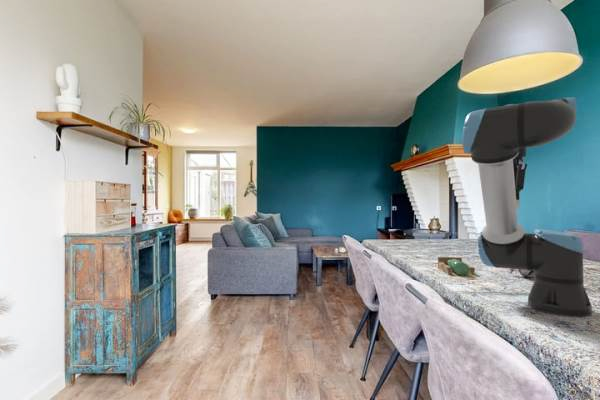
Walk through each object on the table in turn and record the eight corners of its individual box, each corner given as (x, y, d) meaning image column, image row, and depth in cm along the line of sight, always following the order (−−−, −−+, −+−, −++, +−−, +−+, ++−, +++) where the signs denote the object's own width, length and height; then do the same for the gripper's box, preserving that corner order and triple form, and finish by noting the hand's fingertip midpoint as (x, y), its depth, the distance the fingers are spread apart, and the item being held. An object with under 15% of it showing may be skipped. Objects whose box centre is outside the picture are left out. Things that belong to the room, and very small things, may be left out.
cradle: (482, 281, 133) (482, 266, 133) (453, 281, 134) (453, 266, 134) (461, 270, 155) (461, 257, 155) (437, 270, 156) (436, 256, 156)
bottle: (468, 262, 138) (455, 256, 153) (455, 263, 139) (443, 257, 153) (470, 275, 138) (457, 268, 153) (456, 276, 138) (444, 269, 153)
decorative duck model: (548, 260, 144) (564, 265, 130) (546, 277, 144) (562, 285, 129) (508, 255, 148) (520, 260, 134) (507, 272, 148) (518, 279, 134)
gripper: (534, 144, 121) (535, 209, 121) (515, 149, 134) (516, 208, 134) (512, 144, 122) (513, 209, 122) (495, 150, 135) (496, 208, 135)
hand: (514, 208), depth 128 cm, fingers closed
